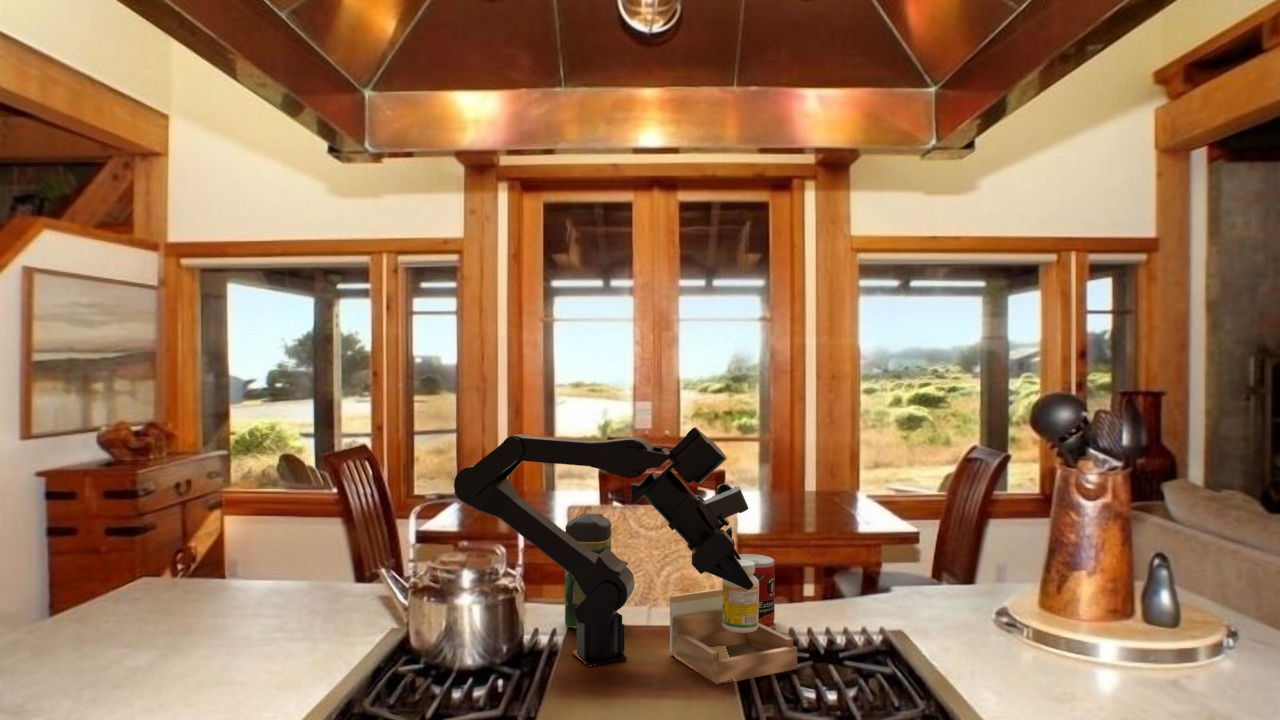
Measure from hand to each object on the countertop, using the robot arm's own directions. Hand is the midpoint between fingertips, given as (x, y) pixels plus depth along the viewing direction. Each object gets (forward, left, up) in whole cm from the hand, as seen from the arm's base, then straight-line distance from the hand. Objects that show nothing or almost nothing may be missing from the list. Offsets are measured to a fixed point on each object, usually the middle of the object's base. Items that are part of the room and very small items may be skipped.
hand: (750, 582), depth 112 cm
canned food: (+12, +17, -12) cm, 24 cm away
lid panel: (-2, +8, -12) cm, 15 cm away
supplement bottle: (-1, +1, -7) cm, 7 cm away
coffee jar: (-14, +29, -12) cm, 34 cm away
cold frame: (-2, +2, -12) cm, 12 cm away
